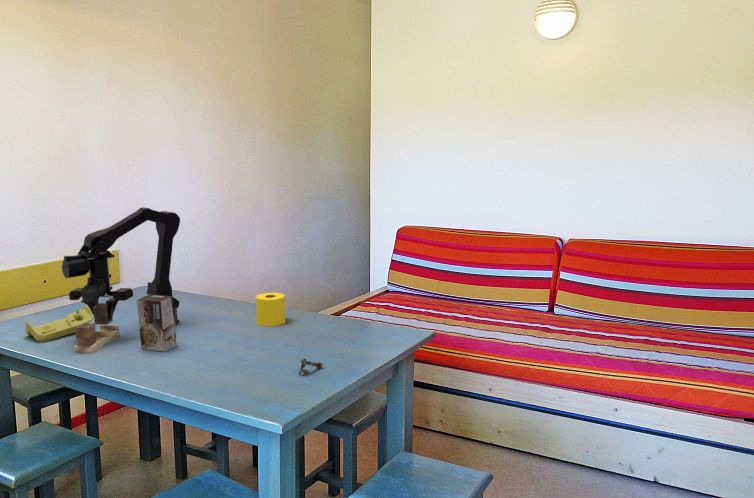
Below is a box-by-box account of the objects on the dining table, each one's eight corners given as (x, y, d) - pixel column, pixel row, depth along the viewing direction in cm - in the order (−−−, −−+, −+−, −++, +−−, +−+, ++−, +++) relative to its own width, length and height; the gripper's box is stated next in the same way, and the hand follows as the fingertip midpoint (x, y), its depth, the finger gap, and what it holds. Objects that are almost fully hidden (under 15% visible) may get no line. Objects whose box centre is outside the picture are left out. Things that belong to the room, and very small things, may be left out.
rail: (119, 335, 208) (117, 311, 207) (93, 352, 192) (91, 327, 190) (102, 334, 209) (100, 311, 207) (74, 352, 192) (72, 327, 191)
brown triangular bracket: (294, 373, 172) (299, 357, 173) (314, 376, 178) (319, 361, 179) (299, 374, 171) (303, 358, 172) (319, 378, 177) (323, 362, 178)
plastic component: (39, 337, 200) (24, 319, 205) (38, 354, 204) (24, 336, 208) (99, 318, 214) (84, 302, 219) (97, 334, 218) (83, 318, 223)
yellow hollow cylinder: (255, 319, 225) (254, 293, 223) (283, 317, 228) (282, 291, 226) (258, 327, 216) (257, 301, 214) (287, 324, 218) (286, 298, 217)
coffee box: (177, 345, 198) (174, 295, 195) (164, 352, 192) (160, 301, 189) (153, 342, 201) (150, 293, 198) (140, 349, 195) (136, 298, 192)
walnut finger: (112, 321, 206) (111, 303, 204) (105, 325, 201) (104, 307, 200) (101, 320, 206) (99, 303, 205) (93, 325, 201) (92, 307, 200)
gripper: (56, 278, 193) (61, 327, 196) (115, 278, 192) (119, 327, 195) (76, 270, 204) (80, 316, 207) (131, 270, 203) (135, 317, 206)
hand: (103, 319), depth 203 cm, fingers closed on walnut finger, 4 cm apart
